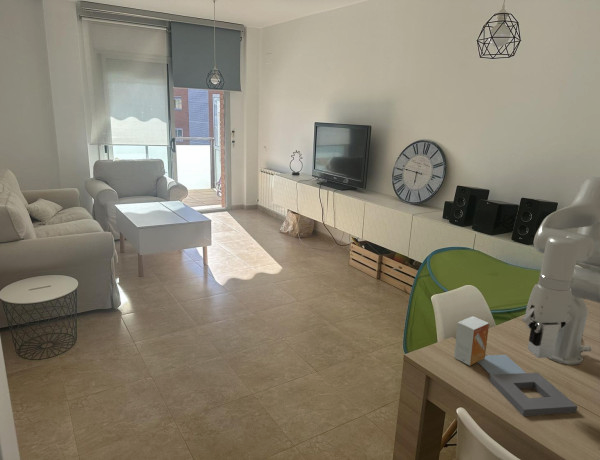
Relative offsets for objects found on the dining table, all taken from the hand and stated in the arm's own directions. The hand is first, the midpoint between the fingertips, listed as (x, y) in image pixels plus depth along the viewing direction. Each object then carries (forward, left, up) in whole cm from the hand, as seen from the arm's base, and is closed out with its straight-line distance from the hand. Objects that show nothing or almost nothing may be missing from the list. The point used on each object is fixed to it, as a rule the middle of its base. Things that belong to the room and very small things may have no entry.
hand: (542, 342), depth 120 cm
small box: (+8, -20, -17) cm, 27 cm away
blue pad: (0, -15, -17) cm, 23 cm away
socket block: (0, 0, -17) cm, 17 cm away
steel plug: (0, 0, -3) cm, 3 cm away
